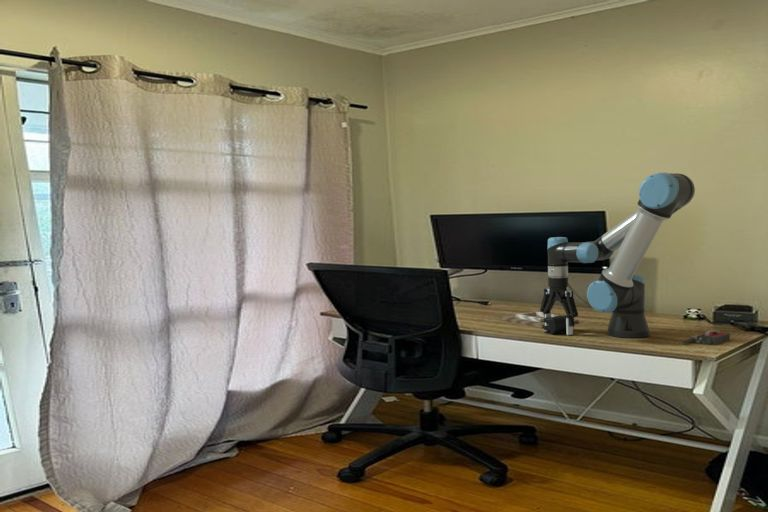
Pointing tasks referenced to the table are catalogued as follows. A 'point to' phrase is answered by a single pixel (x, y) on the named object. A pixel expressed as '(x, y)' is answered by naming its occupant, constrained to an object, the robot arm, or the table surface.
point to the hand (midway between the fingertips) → (558, 332)
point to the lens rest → (529, 319)
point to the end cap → (555, 324)
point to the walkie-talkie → (710, 337)
